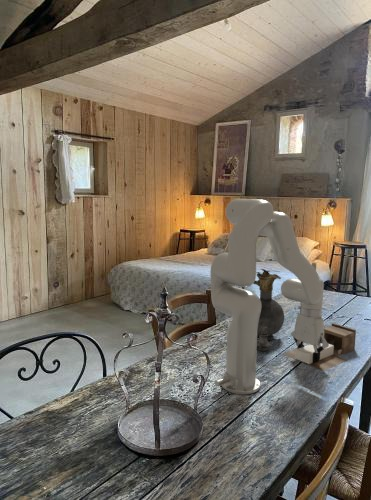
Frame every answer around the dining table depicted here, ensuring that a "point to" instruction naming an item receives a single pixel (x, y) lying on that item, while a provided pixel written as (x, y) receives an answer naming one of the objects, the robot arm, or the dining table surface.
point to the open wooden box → (339, 339)
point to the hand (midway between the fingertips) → (308, 358)
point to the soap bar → (307, 353)
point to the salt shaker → (263, 339)
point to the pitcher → (269, 305)
